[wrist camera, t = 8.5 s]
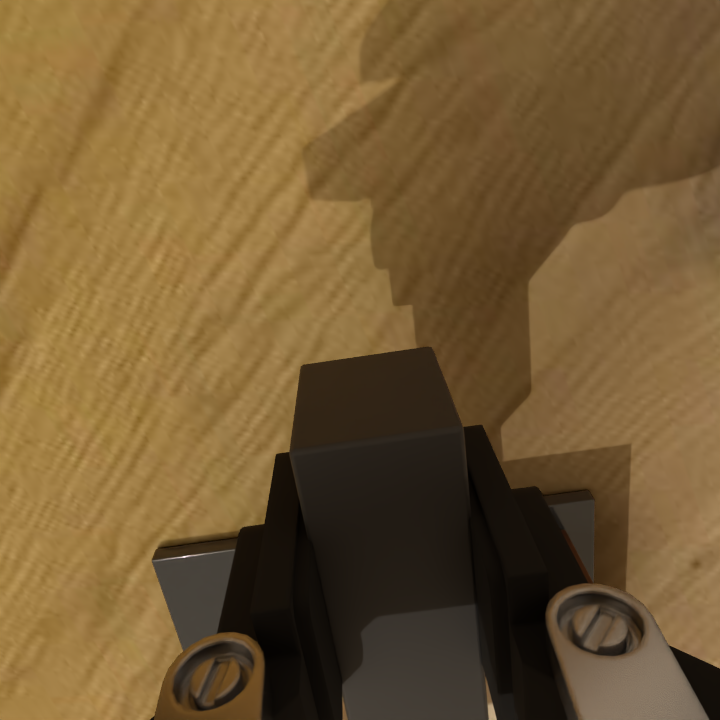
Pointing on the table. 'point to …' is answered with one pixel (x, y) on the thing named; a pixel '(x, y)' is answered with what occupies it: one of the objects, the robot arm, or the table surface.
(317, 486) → the knife
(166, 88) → the table surface
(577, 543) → the board
